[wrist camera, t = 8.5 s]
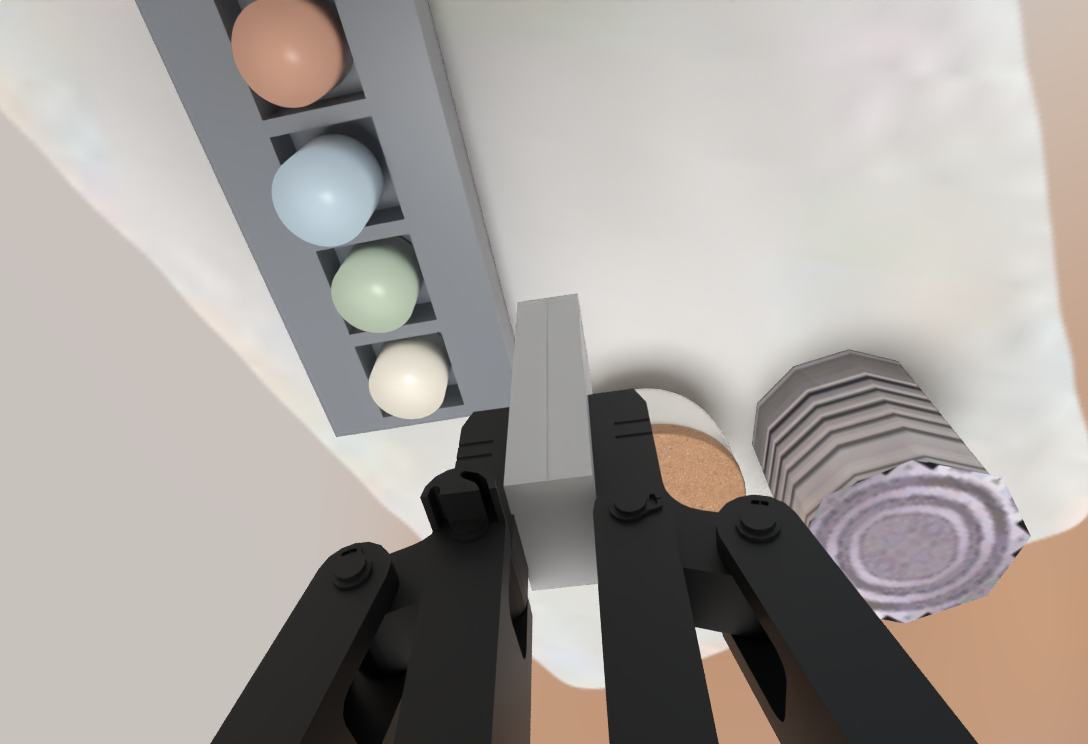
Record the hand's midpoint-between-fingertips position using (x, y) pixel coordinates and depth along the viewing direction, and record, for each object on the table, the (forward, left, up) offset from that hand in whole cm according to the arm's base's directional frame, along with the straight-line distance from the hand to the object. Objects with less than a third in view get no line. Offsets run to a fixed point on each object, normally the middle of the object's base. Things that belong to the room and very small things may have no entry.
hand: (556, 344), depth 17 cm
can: (+22, +15, -23) cm, 35 cm away
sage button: (+5, -11, -21) cm, 24 cm away
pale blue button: (-1, -11, -19) cm, 22 cm away
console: (+2, -11, -22) cm, 25 cm away
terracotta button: (-7, -11, -21) cm, 25 cm away
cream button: (+11, -11, -21) cm, 26 cm away
